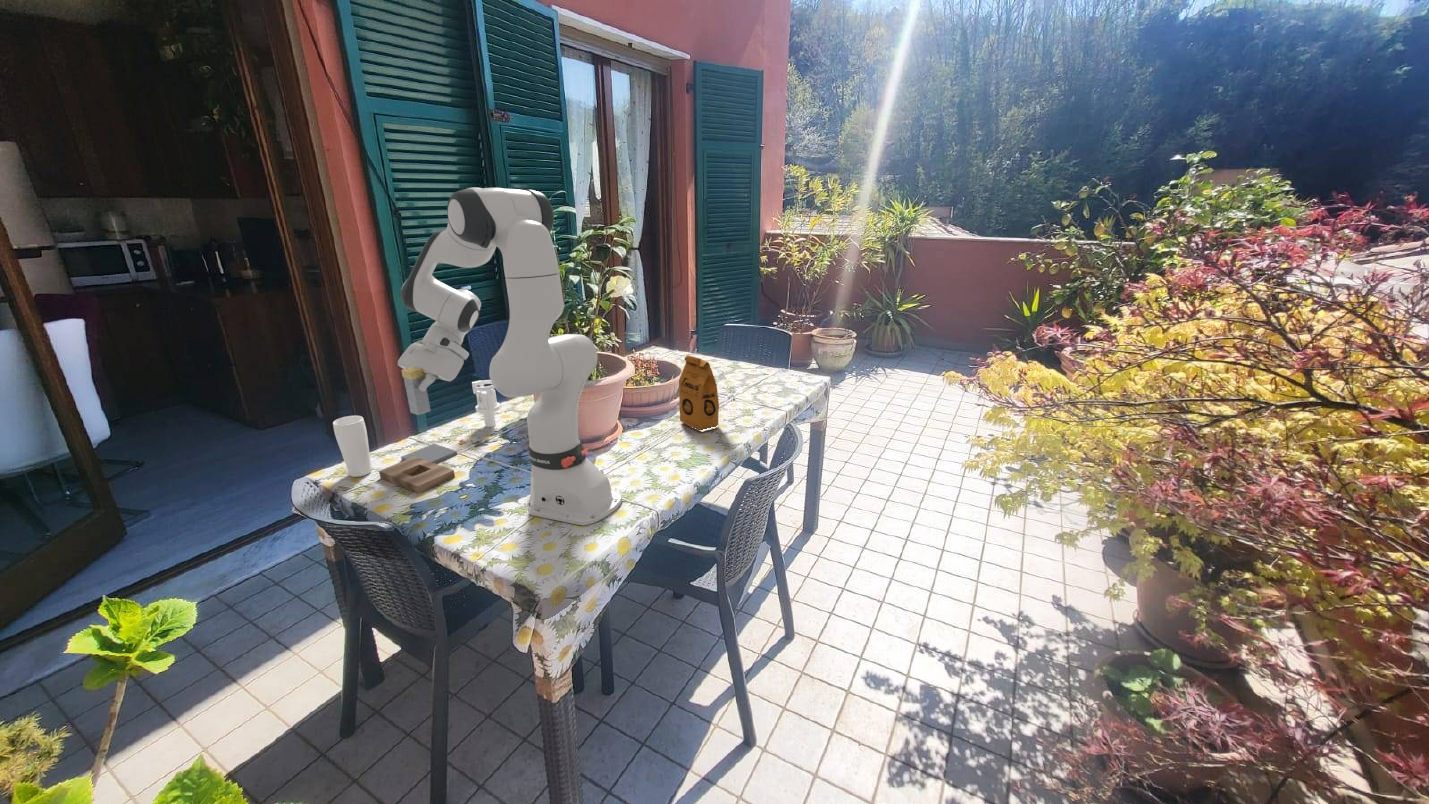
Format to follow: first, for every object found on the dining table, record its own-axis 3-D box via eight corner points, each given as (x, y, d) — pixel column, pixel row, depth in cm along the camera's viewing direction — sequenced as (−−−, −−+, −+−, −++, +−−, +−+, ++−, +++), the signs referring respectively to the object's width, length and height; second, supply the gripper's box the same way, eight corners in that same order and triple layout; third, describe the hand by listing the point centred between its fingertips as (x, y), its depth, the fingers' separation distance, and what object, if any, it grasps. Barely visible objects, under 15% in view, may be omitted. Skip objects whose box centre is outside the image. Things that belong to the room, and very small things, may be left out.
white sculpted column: (475, 424, 179) (468, 379, 174) (498, 419, 183) (492, 375, 178) (482, 431, 174) (475, 385, 169) (505, 426, 178) (499, 380, 173)
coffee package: (697, 435, 172) (697, 366, 164) (675, 423, 181) (674, 356, 173) (723, 428, 177) (724, 360, 169) (701, 416, 186) (700, 351, 179)
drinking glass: (340, 475, 147) (326, 422, 142) (365, 465, 153) (353, 413, 147) (355, 481, 144) (342, 427, 139) (381, 470, 150) (369, 418, 144)
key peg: (431, 411, 153) (423, 368, 149) (418, 415, 150) (410, 372, 146) (422, 408, 155) (414, 366, 151) (409, 412, 152) (401, 370, 148)
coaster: (457, 454, 159) (456, 451, 159) (424, 468, 151) (423, 465, 150) (434, 446, 164) (433, 443, 163) (401, 460, 155) (400, 456, 155)
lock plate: (454, 476, 147) (453, 470, 146) (419, 493, 138) (417, 486, 138) (416, 462, 154) (415, 456, 153) (380, 478, 146) (378, 471, 145)
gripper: (408, 333, 156) (380, 376, 152) (456, 343, 147) (429, 389, 142) (425, 345, 161) (399, 387, 157) (473, 355, 152) (447, 400, 147)
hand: (414, 388), depth 150 cm, fingers closed on key peg, 3 cm apart
